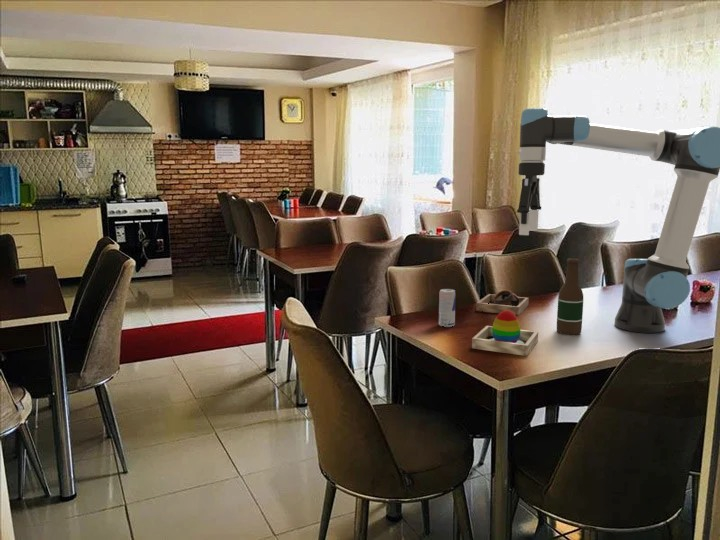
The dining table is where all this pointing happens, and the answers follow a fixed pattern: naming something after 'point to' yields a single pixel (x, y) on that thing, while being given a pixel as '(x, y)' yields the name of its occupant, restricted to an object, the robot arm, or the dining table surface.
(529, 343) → the shallow wooden tray
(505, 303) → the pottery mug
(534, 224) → the robot arm
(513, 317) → the decorative egg
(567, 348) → the dining table surface
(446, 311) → the energy drink
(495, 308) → the weathered wood tray
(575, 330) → the beer bottle
